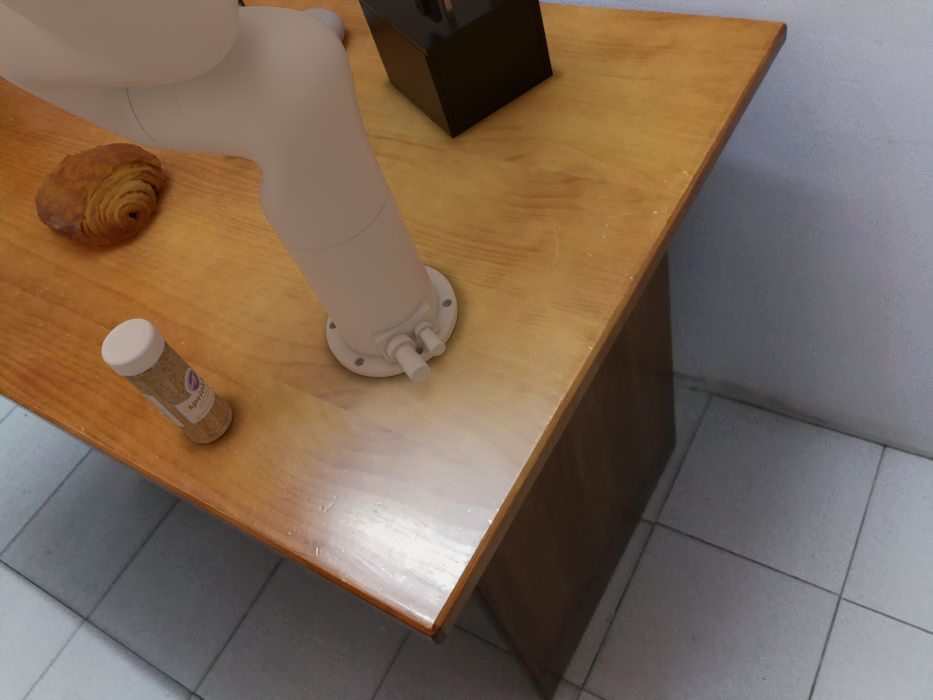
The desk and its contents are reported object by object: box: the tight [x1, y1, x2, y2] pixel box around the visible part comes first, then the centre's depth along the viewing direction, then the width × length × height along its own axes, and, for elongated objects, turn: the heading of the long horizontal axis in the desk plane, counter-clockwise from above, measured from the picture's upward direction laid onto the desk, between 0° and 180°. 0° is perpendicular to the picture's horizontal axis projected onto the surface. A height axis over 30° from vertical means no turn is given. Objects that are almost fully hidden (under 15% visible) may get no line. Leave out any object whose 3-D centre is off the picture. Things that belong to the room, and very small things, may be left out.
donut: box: [300, 7, 346, 43], centre depth 103 cm, size 10×4×10 cm
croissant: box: [34, 142, 166, 246], centre depth 93 cm, size 14×16×8 cm
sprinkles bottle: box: [100, 318, 233, 444], centre depth 67 cm, size 5×5×13 cm
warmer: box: [358, 0, 554, 139], centre depth 88 cm, size 15×14×11 cm
